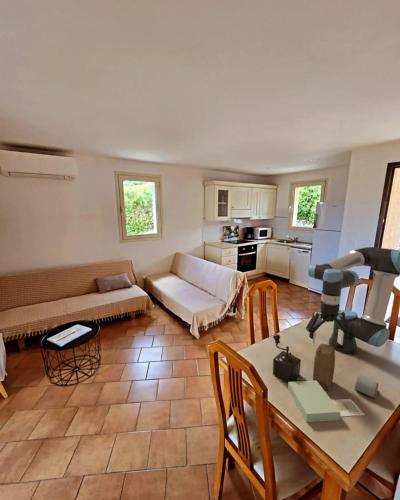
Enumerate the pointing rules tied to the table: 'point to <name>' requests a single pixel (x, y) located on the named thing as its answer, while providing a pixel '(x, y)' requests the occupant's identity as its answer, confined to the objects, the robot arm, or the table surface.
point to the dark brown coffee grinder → (285, 364)
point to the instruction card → (347, 407)
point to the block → (324, 365)
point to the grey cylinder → (366, 385)
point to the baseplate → (313, 401)
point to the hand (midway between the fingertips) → (326, 343)
